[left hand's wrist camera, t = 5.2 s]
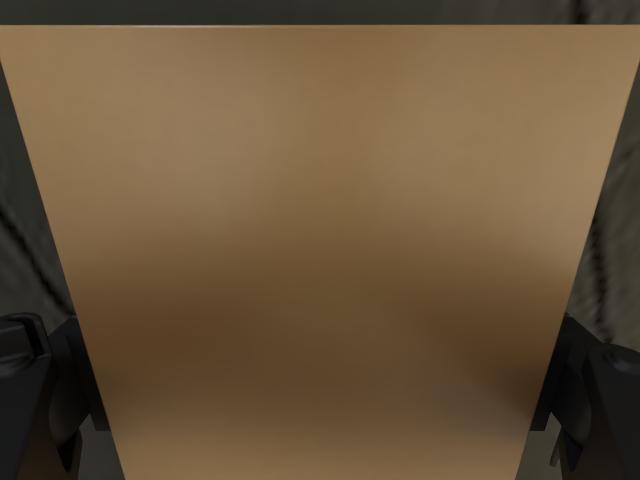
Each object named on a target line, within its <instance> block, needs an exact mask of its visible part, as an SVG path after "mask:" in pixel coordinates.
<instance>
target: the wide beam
mask: <svg viewBox="0 0 640 480" xmlns="http://www.w3.org/2000/svg"><path fill="white" fill-rule="evenodd" d="M0 61H1V64H2V67H3V71H4V74H5V77H6V81H7V84H8V87H9V91H10V94H11V97H12V101H13V104H14V107H15V111H16V114H17V117H18V121H19V124H20V128H21V131H22V134H23V138H24V141H25V144H26V148H27V151H28V154H29V158H30V161H31V164H32V168H33V171H34V174H35V178H36V181H37V184H38V188H39V191H40V195H41V198H42V201H43V205H44V208H45V211H46V215H47V218H48V221H49V225H50V228H51V231H52V235H53V238H54V241H55V245H56V248H57V251H58V255H59V258H60V262H61V265H62V268H63V272H64V275H65V278H66V282H67V285H68V288H69V292H70V295H71V298H72V302H73V305H74V308H75V312H76V315H77V318H78V322H79V325H80V329H81V332H82V335H83V339H84V342H85V345H86V349H87V352H88V355H89V359H90V362H91V365H92V369H93V372H94V375H95V379H96V382H97V385H98V389H99V392H100V396H101V399H102V402H103V406H104V409H105V412H106V416H107V419H108V422H109V426H110V429H111V432H112V436H113V439H114V442H115V446H116V449H117V452H118V456H119V459H120V462H121V466H122V469H123V473H124V476H125V479H126V480H515V478H516V474H517V471H518V467H519V464H520V461H521V457H522V454H523V451H524V447H525V444H526V441H527V437H528V434H529V431H530V427H531V424H532V421H533V417H534V414H535V410H536V407H537V404H538V400H539V397H540V394H541V390H542V387H543V384H544V380H545V377H546V374H547V370H548V367H549V364H550V360H551V357H552V353H553V350H554V347H555V343H556V340H557V337H558V333H559V330H560V327H561V323H562V320H563V317H564V313H565V310H566V307H567V303H568V300H569V297H570V293H571V290H572V286H573V283H574V280H575V276H576V273H577V270H578V266H579V263H580V260H581V256H582V253H583V250H584V246H585V243H586V240H587V236H588V233H589V229H590V226H591V223H592V219H593V216H594V213H595V209H596V206H597V203H598V199H599V196H600V193H601V189H602V186H603V183H604V179H605V176H606V172H607V169H608V166H609V162H610V159H611V156H612V152H613V149H614V146H615V142H616V139H617V136H618V132H619V129H620V126H621V122H622V119H623V115H624V112H625V109H626V105H627V102H628V99H629V95H630V92H631V89H632V85H633V82H634V79H635V75H636V72H637V69H638V65H639V62H640V25H0Z"/></svg>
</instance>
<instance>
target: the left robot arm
mask: <svg viewBox="0 0 640 480" xmlns="http://www.w3.org/2000/svg"><path fill="white" fill-rule="evenodd" d="M550 412H552V413H553V415H554V416H555V417H556V419H557V420H558V421H559V423H560V424H561V425H562V427H561V430H560V432H559V435H558V438H557V441H556V444H555V447H554V450H553V453H552V456H551V460H550V465H551V466H553V467H555V466H556V463H557V461H558V459H560V463H561V471H562V478H563V480H640V353H639V352H637V351H635V350H632V349H629V348H626V347H623V346H619V345H614V344H607V343H602V342H600V341H599V340H598V339H597V338H596V337H595V336H593V335H592V334H591V333H590V332H589V331H588V330H586V329H585V328H584V327H583V326H582V325H581V324H579V323H578V322H577V321H576V320H575V319H574V318H572V317H569V314H568V313H567V312H565V313H564V317H563V320H562V323H561V327H560V330H559V333H558V337H557V340H556V343H555V347H554V350H553V353H552V357H551V360H550V364H549V367H548V370H547V374H546V377H545V380H544V384H543V387H542V390H541V394H540V397H539V400H538V404H537V407H536V410H535V414H534V417H533V421H532V424H531V427H530V431H545V428H546V425H547V421H548V418H549V415H550ZM89 413H90V414H91V417H92V421H93V424H94V427H95V430H96V431H111V429H110V426H109V422H108V419H107V416H106V412H105V409H104V406H103V402H102V399H101V396H100V392H99V389H98V385H97V382H96V379H95V375H94V372H93V369H92V365H91V362H90V359H89V355H88V352H87V349H86V345H85V342H84V339H83V335H82V332H81V329H80V325H79V322H78V318H77V315H76V313H75V314H73V315H72V316H71V318H69V319H68V320H66V321H65V322H64V323H63V324H62V325H61V326H59V327H58V328H57V329H56V330H55V331H54V332H52V333H51V334H50V335H49V336H47V333H46V330H45V327H44V324H43V321H42V318H41V316H39V315H37V314H35V313H26V312H23V313H15V314H9V315H5V316H1V317H0V480H77V479H78V472H79V464H80V457H81V449H82V436H81V432H80V430H79V426H80V425H81V424H82V422H83V421H84V420H85V418H86V417H87V416H88V414H89Z"/></svg>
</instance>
